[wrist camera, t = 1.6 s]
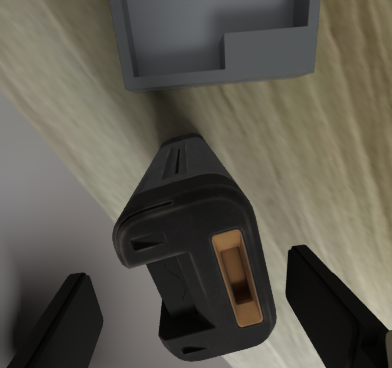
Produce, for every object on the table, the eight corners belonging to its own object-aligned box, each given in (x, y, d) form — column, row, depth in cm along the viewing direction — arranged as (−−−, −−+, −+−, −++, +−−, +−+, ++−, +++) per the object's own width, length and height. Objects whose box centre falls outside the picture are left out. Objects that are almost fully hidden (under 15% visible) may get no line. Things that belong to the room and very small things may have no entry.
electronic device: (156, 142, 27) (93, 222, 8) (201, 129, 26) (249, 176, 8) (179, 206, 30) (172, 373, 11) (219, 194, 29) (285, 344, 11)
